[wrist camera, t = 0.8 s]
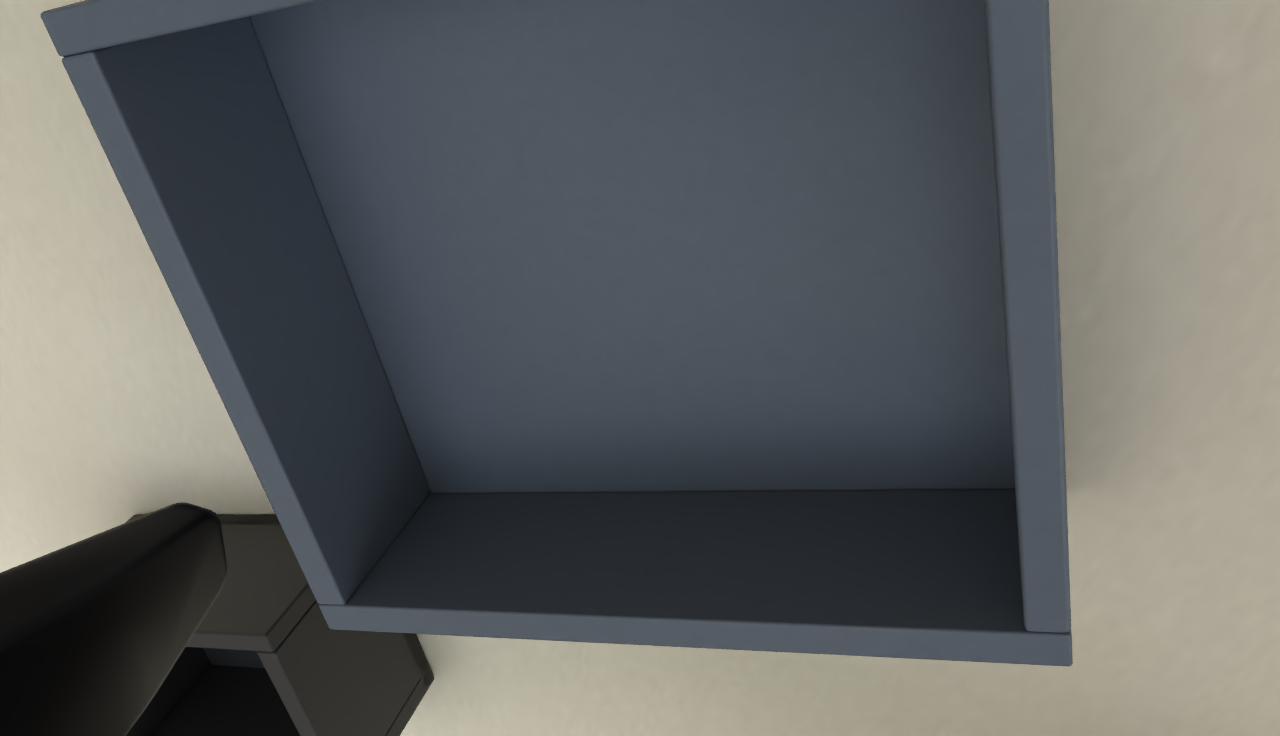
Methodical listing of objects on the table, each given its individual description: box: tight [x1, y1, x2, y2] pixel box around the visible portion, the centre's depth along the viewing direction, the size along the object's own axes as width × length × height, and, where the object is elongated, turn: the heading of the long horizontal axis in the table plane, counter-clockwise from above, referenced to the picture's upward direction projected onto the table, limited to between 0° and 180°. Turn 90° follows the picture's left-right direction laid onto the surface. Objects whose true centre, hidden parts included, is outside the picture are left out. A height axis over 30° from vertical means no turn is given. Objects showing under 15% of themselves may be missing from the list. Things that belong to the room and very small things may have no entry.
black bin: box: [126, 515, 434, 736], centre depth 31 cm, size 7×9×5 cm
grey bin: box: [41, 0, 1073, 666], centre depth 20 cm, size 15×17×5 cm
